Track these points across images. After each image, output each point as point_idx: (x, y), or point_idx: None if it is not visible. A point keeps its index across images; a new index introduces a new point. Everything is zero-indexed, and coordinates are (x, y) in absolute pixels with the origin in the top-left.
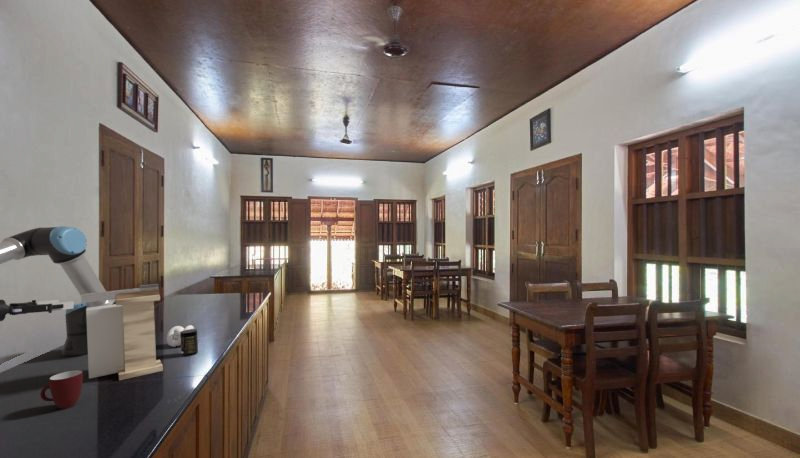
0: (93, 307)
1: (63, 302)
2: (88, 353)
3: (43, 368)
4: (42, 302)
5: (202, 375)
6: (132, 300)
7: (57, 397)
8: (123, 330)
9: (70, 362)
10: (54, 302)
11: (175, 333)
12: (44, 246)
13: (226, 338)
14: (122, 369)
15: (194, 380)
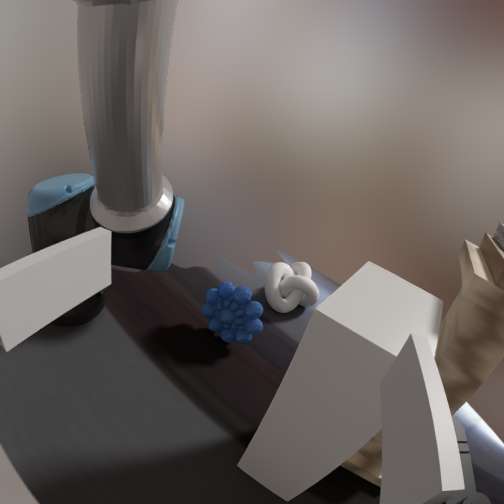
0: (351, 308)
1: (444, 395)
2: (319, 479)
3: (47, 400)
4: (21, 282)
5: (481, 419)
6: None
7: None
8: (453, 398)
9: (89, 372)
10: (89, 259)
11: (300, 289)
12: None
13: (337, 284)
14: (360, 458)
15: (489, 435)
